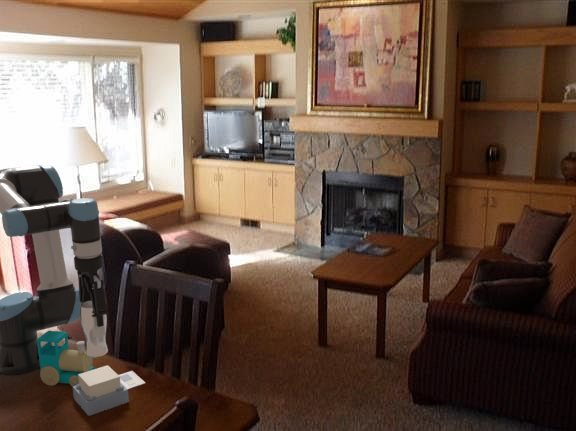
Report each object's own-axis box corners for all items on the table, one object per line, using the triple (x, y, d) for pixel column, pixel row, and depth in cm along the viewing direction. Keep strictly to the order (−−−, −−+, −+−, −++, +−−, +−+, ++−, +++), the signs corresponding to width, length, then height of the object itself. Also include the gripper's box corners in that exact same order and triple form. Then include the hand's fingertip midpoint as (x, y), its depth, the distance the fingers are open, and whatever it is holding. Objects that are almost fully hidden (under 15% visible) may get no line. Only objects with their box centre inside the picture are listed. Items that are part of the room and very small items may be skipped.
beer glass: (80, 357, 175) (74, 307, 172) (90, 346, 182) (86, 298, 179) (103, 358, 175) (98, 308, 171) (113, 347, 181) (109, 299, 178)
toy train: (90, 389, 188) (85, 343, 185) (40, 385, 191) (35, 340, 188) (102, 376, 196) (98, 332, 192) (54, 372, 199) (49, 329, 195)
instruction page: (111, 378, 195) (111, 377, 195) (132, 371, 199) (132, 370, 199) (124, 390, 187) (124, 389, 187) (145, 383, 191) (145, 382, 191)
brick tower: (73, 398, 183) (71, 374, 181) (112, 385, 190) (110, 361, 188) (88, 416, 174) (85, 390, 172) (128, 401, 181) (126, 376, 179)
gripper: (62, 249, 177) (70, 324, 182) (87, 266, 162) (95, 347, 167) (88, 244, 181) (95, 317, 187) (115, 260, 166) (121, 339, 172)
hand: (95, 331), depth 177 cm, fingers closed on beer glass, 7 cm apart
